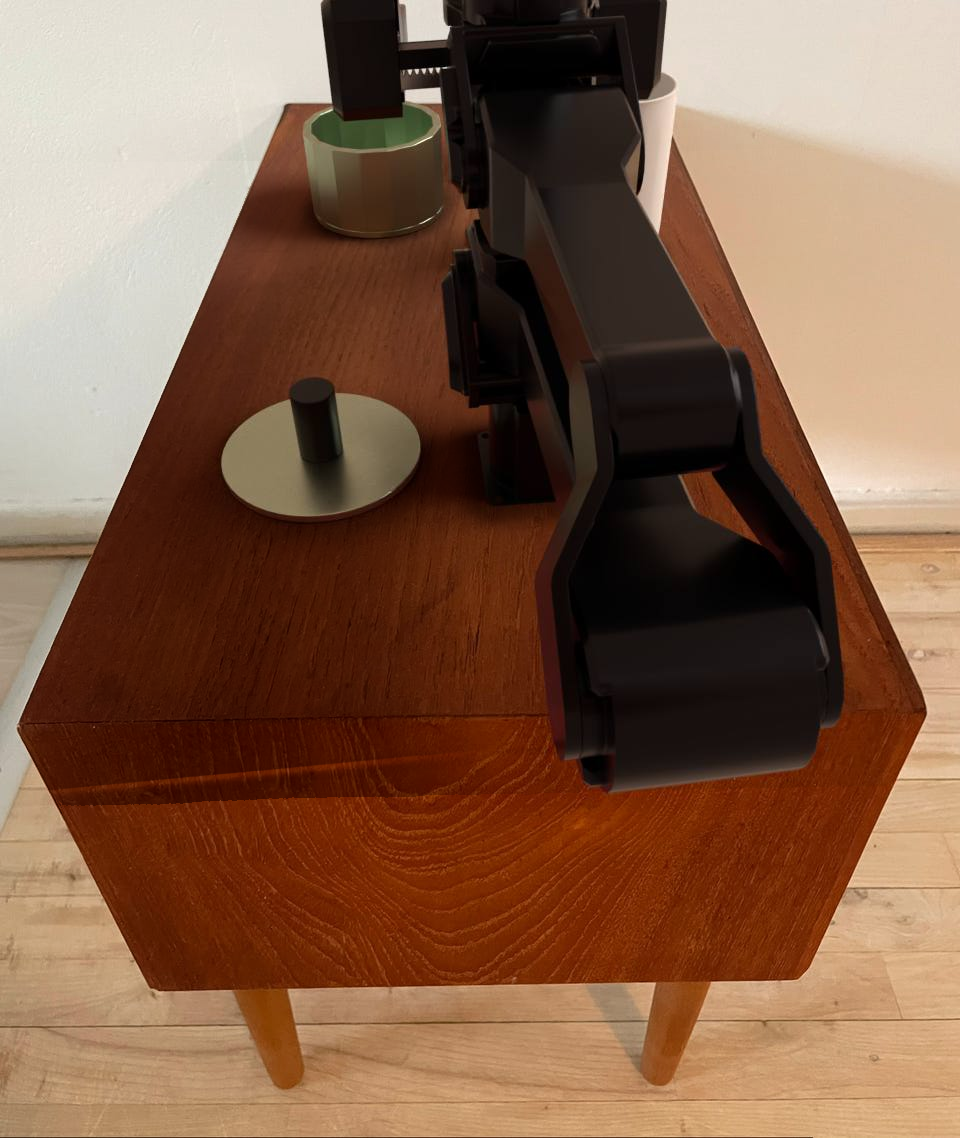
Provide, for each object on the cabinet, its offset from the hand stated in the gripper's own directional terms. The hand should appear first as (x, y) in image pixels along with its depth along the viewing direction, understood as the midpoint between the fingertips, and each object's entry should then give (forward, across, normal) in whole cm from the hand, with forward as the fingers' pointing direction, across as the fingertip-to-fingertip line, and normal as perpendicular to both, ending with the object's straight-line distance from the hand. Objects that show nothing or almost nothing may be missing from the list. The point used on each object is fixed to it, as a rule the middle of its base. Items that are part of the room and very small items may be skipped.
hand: (475, 8), depth 62 cm
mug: (-1, -8, +17) cm, 18 cm away
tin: (+10, +7, +16) cm, 20 cm away
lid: (-22, +12, +16) cm, 30 cm away
